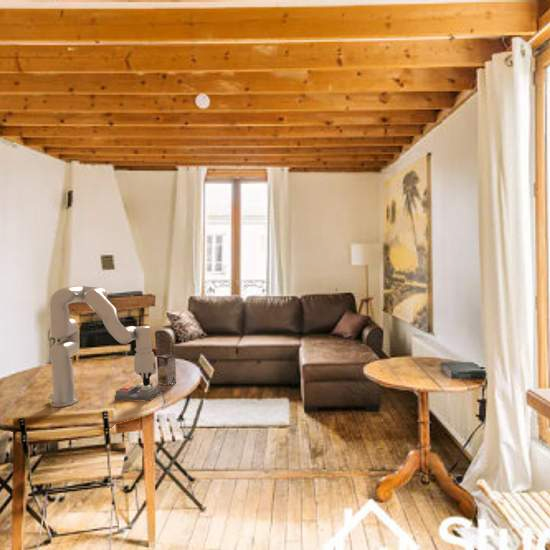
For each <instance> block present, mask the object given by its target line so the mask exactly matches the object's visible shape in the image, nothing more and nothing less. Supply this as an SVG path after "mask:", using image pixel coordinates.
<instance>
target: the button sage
mask: <svg viewBox="0 0 550 550" xmlns="http://www.w3.org/2000/svg"><path fill="white" fill-rule="evenodd" d="M141 389H142V391H150V390H151V385H148V386H142V387H141Z"/></svg>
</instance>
